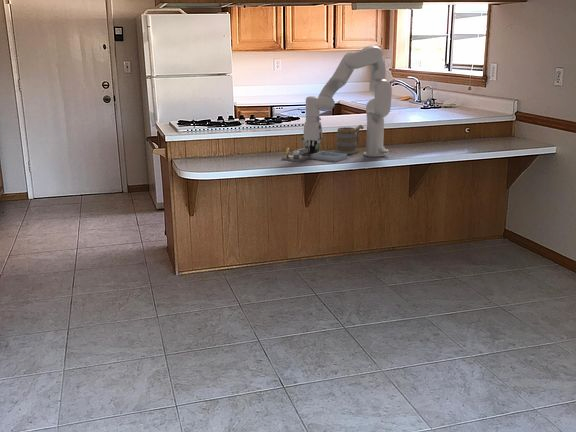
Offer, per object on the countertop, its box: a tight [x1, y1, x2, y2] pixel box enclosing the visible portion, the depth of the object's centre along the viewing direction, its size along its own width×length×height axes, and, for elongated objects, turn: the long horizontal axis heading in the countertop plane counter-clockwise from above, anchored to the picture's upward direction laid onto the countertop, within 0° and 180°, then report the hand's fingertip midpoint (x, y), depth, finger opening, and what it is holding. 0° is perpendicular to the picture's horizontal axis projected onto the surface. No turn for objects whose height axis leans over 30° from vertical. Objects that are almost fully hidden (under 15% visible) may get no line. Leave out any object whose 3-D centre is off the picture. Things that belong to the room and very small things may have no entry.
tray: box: [310, 150, 348, 163], centre depth 334 cm, size 16×12×2 cm
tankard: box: [334, 124, 364, 155], centre depth 353 cm, size 20×13×15 cm, turn 126°
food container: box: [300, 135, 321, 156], centre depth 348 cm, size 12×6×10 cm, turn 59°
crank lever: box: [292, 146, 309, 157], centre depth 337 cm, size 13×4×5 cm, turn 142°
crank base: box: [281, 147, 312, 163], centre depth 334 cm, size 13×12×6 cm
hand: (312, 152), depth 335 cm, fingers closed
